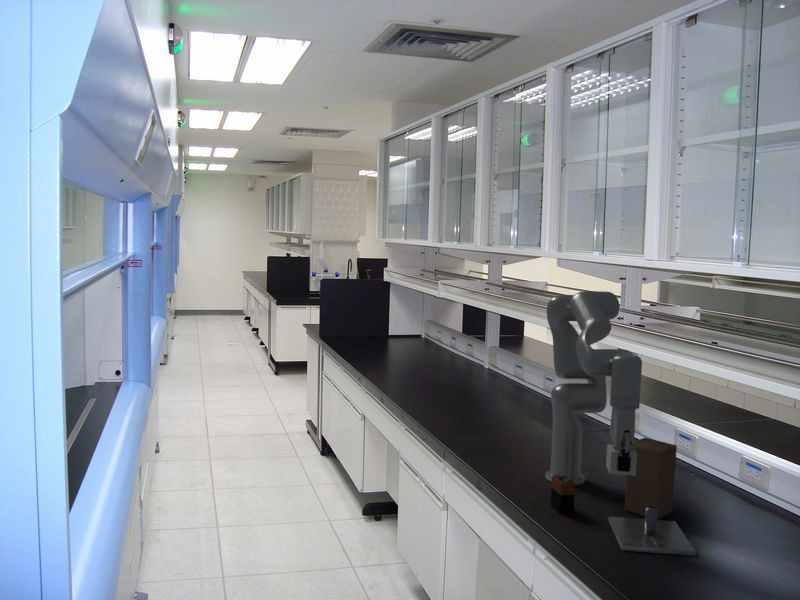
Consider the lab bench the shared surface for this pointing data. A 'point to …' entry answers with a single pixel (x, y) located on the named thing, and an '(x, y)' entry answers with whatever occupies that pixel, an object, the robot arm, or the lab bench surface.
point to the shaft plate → (645, 542)
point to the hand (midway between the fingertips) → (621, 465)
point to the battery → (562, 493)
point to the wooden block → (652, 478)
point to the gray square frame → (613, 460)
